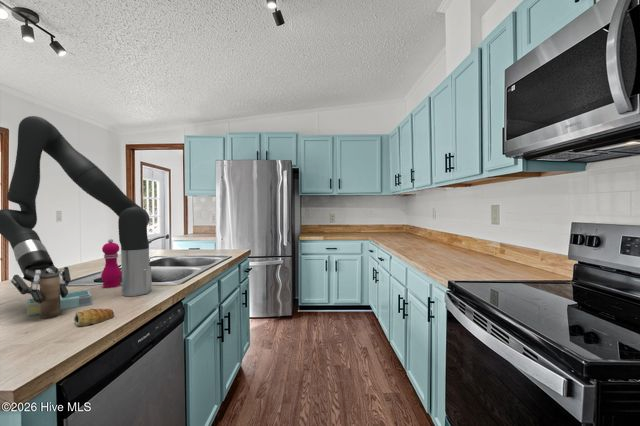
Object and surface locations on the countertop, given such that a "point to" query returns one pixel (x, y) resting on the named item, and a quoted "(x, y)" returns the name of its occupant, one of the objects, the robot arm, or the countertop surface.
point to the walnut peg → (50, 295)
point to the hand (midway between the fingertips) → (53, 298)
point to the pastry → (92, 316)
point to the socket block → (63, 302)
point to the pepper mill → (111, 265)
